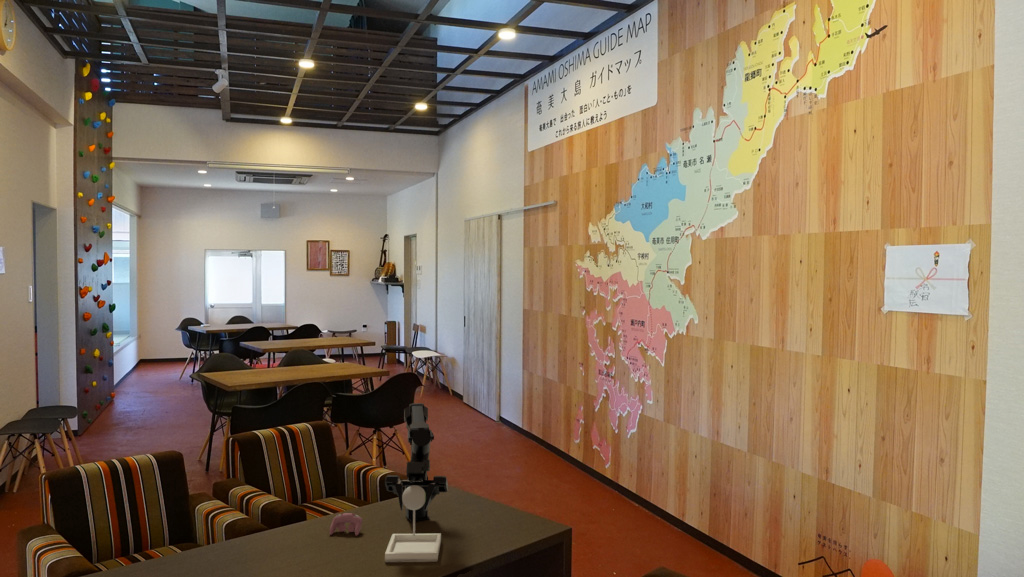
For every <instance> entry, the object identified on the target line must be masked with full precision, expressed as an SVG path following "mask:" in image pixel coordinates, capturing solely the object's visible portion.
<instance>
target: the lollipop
mask: <svg viewBox="0 0 1024 577" xmlns="http://www.w3.org/2000/svg"><path fill="white" fill-rule="evenodd" d="M402 501H403V506H404V507H405V509H406V508H408V509H410V510H413V522H412V534H413V536H415V534H416V521H415V510H417V509H419V508H421V507H422V506H423V505H424V504H425V501H426V493H425V491H424V489H423V488H422V487H420V486H417V485H412V486H409V487H408V488H406V489H405V488H404V490H403V495H402Z"/></svg>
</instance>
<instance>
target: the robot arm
mask: <svg viewBox="0 0 1024 577" xmlns="http://www.w3.org/2000/svg"><path fill="white" fill-rule="evenodd" d="M428 419H429V408H428V407H427V406H425V403H422V402H418V403H417V402H414V403H410V404H409V406H407V407H405V408H404V410H403V421H404V423H405V428H406V430H407V443H409V445H410V454H411V455H410V460H409V461H407V462H406V468H405V469H406V471H405V472H406V475H405V476H406V478H407V479H401V478H400V475H396V474H395V475H393V474H392V475H391V474H387V475H386V476H385V478H384V485H385V489H386V491H387V492H390V493H391V492H392V493H393V494H394V495H397V497H398V503H399V508H400V511H401V512H402V511H403V509H404V504H403V501H402V495H403V492H404V490H405V489H406V488H408V487H409V486H412V485H417V486H420V487H422V488H423V489H424V491H425V493H426V501H425V504H424V505H423V506H422V507H421V508H419V509H417V510H415V522H420V521H425V520H429V519H430V516H429V515H428V512H429V510H428V509H429V506H430V505H431V503H432V501H433V500H434V498H436V496H438V495H440V493H447V492H448V489H449V483H448V477H447V476H446V475H434V476H433V479H429V474H428V472H430V471H431V460H430V451H431V444H432V443H431V442H433V441H434V440H435V435H434V432H433V431H432V429H430V426H429V425H430V424H429V423H427V421H428ZM403 488H404V489H403ZM405 518H407V519H408V520H409V522H411V523H413V510H410V509H408V508H406V507H405Z"/></svg>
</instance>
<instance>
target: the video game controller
mask: <svg viewBox="0 0 1024 577" xmlns="http://www.w3.org/2000/svg"><path fill="white" fill-rule="evenodd" d="M346 524H348V526H346ZM362 524H363V518H362V517H361V516H359V515H357V514H355V513H351V512H344V513H338V514H336V515H335V517H333V519H332V521H331V524H330V526H329V535H330V536H331V535H333V534H334V533H335V531H336V530H337V529H338V531H339V532H341V533H343V532H345V531H346V529H347V531H348V532H350V533H354V535H355V536H358V535H360V531H361V530H362Z"/></svg>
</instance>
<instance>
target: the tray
mask: <svg viewBox="0 0 1024 577" xmlns="http://www.w3.org/2000/svg"><path fill="white" fill-rule="evenodd" d="M441 544H442V533H441V532H440V533H435V532H434V533H433V532H432V533H415V536H413V533H392V534H391V537H390V540H389V542H388V544H387V548H386V550H385V553H384V563H435V562H436V563H437V562H438V560H439V555H440V554H439V553H440V550H441V549H440V548H441Z"/></svg>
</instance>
